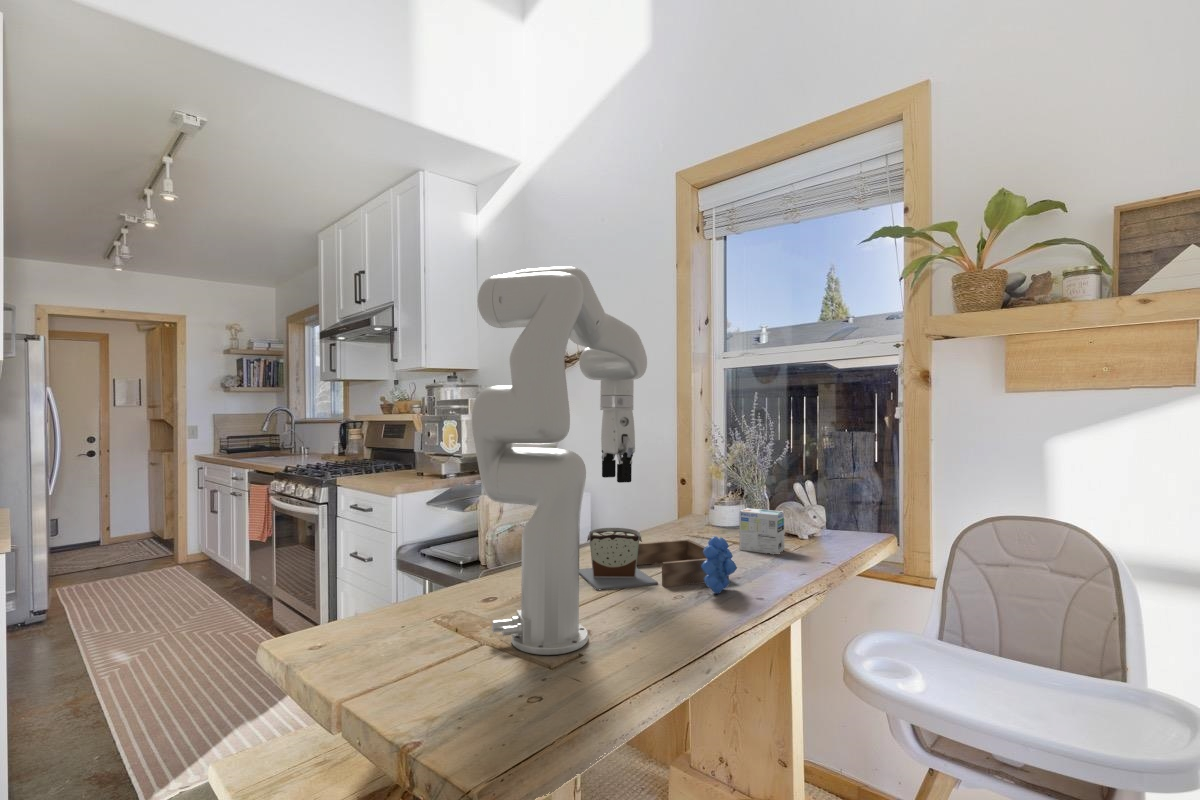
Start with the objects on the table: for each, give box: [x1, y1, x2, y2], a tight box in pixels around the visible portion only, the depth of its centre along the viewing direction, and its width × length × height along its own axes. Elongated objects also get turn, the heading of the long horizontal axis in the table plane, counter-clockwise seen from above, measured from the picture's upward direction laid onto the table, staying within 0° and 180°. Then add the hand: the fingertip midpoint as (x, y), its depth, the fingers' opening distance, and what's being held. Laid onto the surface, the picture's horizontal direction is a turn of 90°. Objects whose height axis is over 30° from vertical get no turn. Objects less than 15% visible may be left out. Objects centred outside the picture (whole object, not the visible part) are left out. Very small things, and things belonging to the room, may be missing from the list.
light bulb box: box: [738, 507, 785, 555], centre depth 160 cm, size 11×7×11 cm, turn 58°
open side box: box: [637, 538, 730, 588], centre depth 139 cm, size 16×19×5 cm
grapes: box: [701, 536, 738, 594], centre depth 122 cm, size 12×7×12 cm, turn 144°
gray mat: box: [579, 567, 659, 591], centre depth 133 cm, size 14×15×1 cm
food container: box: [586, 527, 643, 578], centre depth 135 cm, size 12×6×10 cm, turn 90°
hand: (616, 479), depth 134 cm, fingers open, 9 cm apart
